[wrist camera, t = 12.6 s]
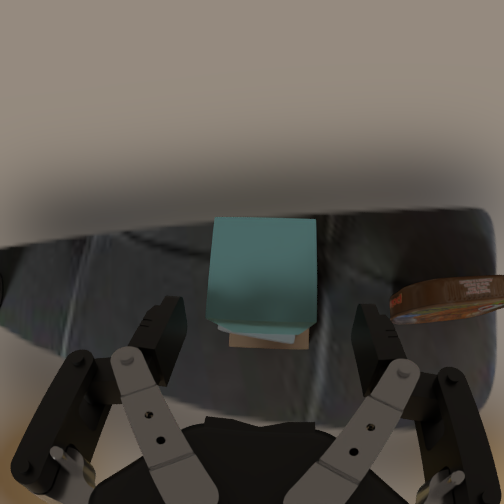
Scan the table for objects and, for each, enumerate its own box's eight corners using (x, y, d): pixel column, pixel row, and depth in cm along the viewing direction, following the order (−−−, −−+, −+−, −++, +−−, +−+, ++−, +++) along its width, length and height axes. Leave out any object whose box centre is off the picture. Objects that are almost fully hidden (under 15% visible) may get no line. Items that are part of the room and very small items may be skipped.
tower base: (234, 346, 29) (228, 346, 26) (238, 279, 31) (233, 270, 28) (304, 349, 29) (308, 349, 25) (305, 281, 31) (309, 272, 28)
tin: (378, 326, 28) (412, 315, 21) (376, 296, 30) (409, 276, 22) (484, 315, 27) (529, 302, 19) (482, 290, 28) (525, 271, 20)
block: (234, 332, 23) (205, 317, 13) (238, 270, 24) (214, 217, 15) (298, 334, 22) (316, 322, 13) (300, 272, 24) (315, 219, 15)
